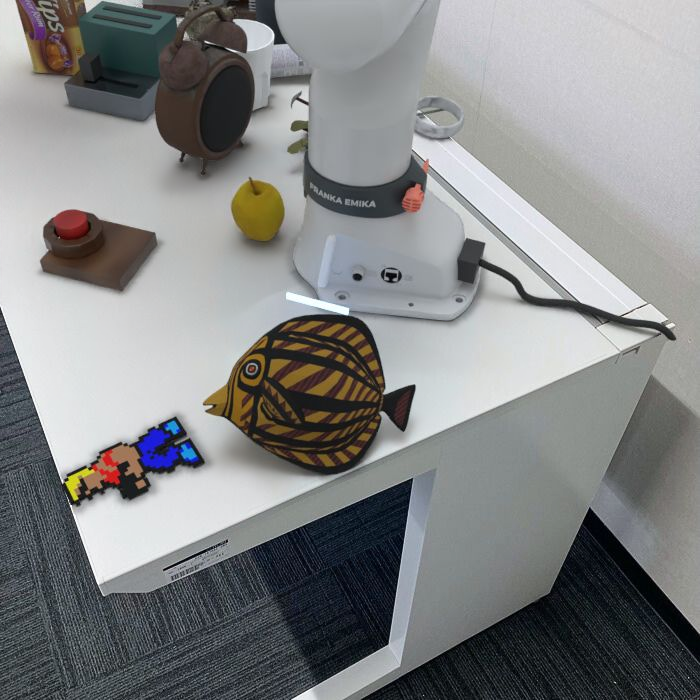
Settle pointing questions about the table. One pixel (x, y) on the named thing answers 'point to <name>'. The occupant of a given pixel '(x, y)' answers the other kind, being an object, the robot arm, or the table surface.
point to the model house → (178, 3)
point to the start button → (71, 224)
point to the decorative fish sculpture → (312, 393)
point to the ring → (445, 105)
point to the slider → (90, 66)
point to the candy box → (53, 34)
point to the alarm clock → (205, 89)
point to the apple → (258, 210)
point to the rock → (205, 17)
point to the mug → (269, 18)
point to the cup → (258, 57)
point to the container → (287, 63)
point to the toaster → (122, 59)
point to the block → (98, 252)
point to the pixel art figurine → (133, 463)
